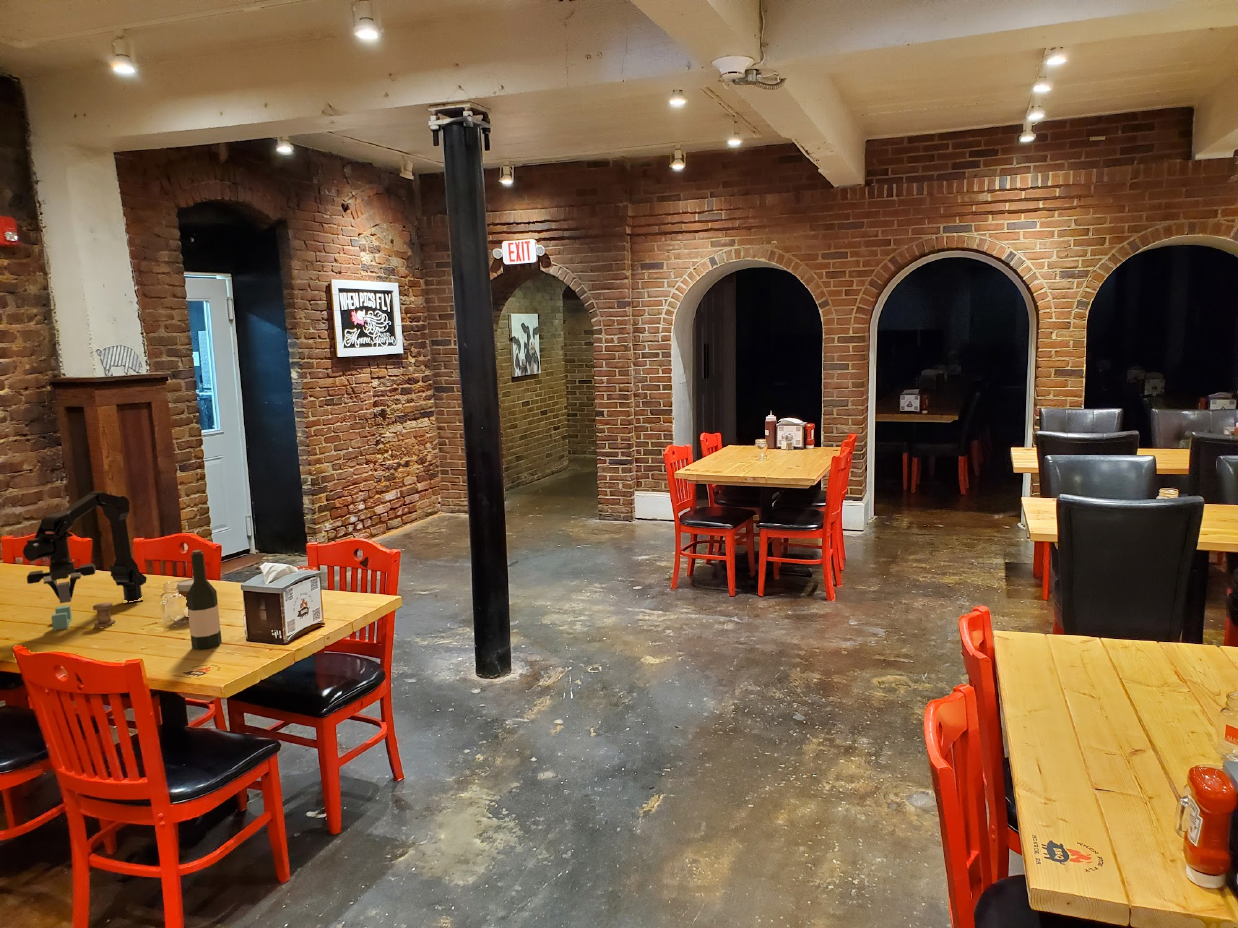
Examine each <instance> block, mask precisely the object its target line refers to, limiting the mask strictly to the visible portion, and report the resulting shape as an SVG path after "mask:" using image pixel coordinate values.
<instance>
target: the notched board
mask: <svg viewBox="0 0 1238 928" xmlns="http://www.w3.org/2000/svg"><path fill="white" fill-rule="evenodd" d="M54 610H55V611H54V613H53V614H51V625H52V631H53V632H54V631H59V630H58V629H61V630H67V629H68V628H69V626H70V624H69V623H71V622H70V621H72V619H73V616H72V609H71V605H70V604H68V605H63V606H62V605H60V606H56V607H55V609H54ZM71 618H72V619H71ZM66 628H67V629H66Z"/></svg>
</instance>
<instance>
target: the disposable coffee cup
mask: <svg viewBox="0 0 1238 928" xmlns="http://www.w3.org/2000/svg"><path fill="white" fill-rule="evenodd" d="M193 582H194V578H193V577H192V578H187V579H182V580H180V581H178V582H177V583H176V584H177V585H176V586H175V587H176V588H175V589H177V592H178V595H179V594H181V595H183V596H184V597H186V596H187V594H188V592H189V590H190V588H191V586H192V584H193ZM186 600H187V598H186ZM186 606H187V603H186Z"/></svg>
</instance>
